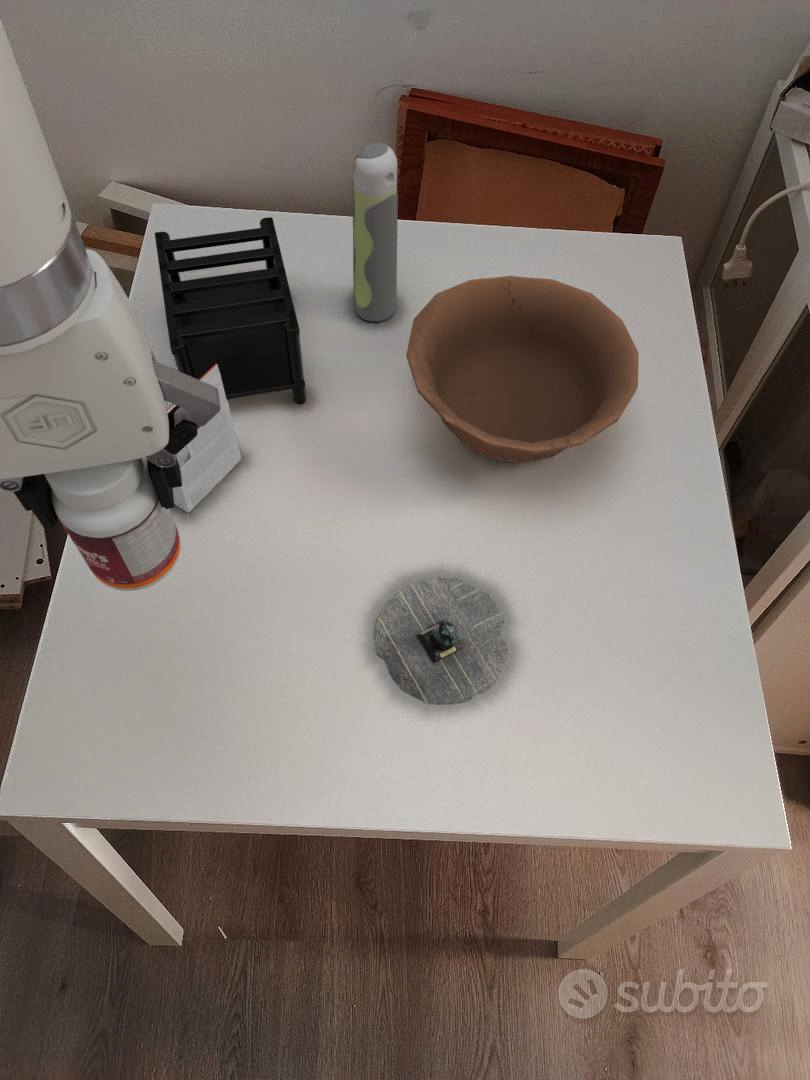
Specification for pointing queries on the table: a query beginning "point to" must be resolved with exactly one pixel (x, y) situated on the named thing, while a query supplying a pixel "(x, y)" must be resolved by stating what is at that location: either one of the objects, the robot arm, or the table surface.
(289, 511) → the table surface
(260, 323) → the rack
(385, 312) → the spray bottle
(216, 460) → the ink box
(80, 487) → the pill bottle
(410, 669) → the sculpture
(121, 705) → the table surface
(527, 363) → the bowl
